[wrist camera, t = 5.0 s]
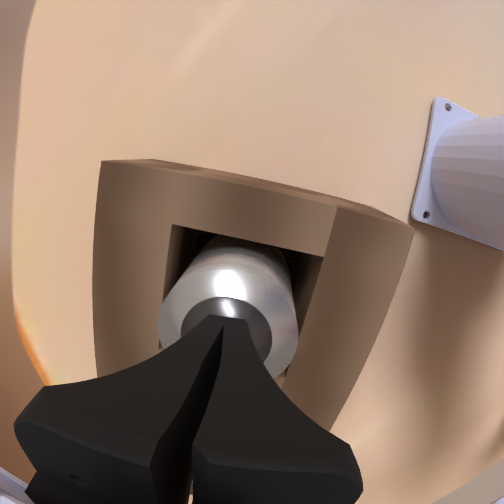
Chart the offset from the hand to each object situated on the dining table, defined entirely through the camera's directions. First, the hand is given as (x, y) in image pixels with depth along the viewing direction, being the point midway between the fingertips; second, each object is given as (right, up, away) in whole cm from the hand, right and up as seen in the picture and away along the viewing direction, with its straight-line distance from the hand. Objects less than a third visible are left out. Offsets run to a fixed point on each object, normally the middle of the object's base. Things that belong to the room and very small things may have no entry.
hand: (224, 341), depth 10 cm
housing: (-1, -3, +10) cm, 10 cm away
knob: (0, +2, +6) cm, 6 cm away
